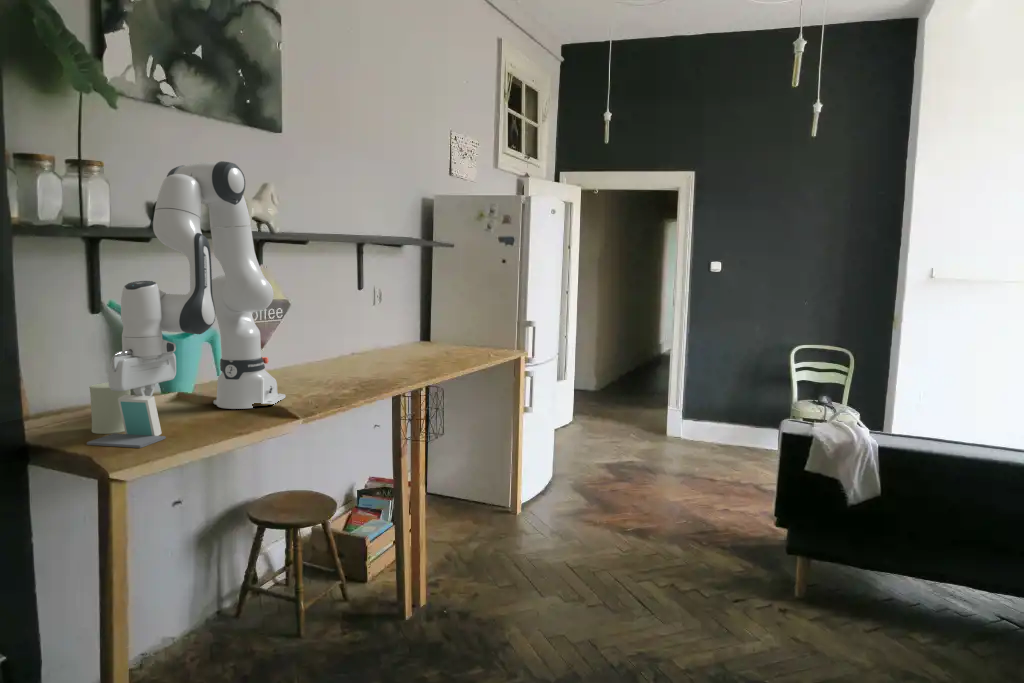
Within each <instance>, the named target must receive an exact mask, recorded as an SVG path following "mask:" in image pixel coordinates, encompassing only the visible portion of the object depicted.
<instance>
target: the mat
mask: <svg viewBox="0 0 1024 683" xmlns="http://www.w3.org/2000/svg"><path fill="white" fill-rule="evenodd" d="M163 440H166V436H165V435H159V436H151V435H133V434H125V433H113V434H108V435H105V436H102V437H99V438H96V439H92V440H89V441H87V442H86V445H87V446H104V447H115V448H116V447H118V448H119V447H121V448H134V449H135V448H136V449H141V448H144V447H147V446H151V445H153V444H155V443H158V442H161V441H163Z"/></svg>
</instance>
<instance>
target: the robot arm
mask: <svg viewBox="0 0 1024 683" xmlns="http://www.w3.org/2000/svg"><path fill="white" fill-rule="evenodd" d="M245 190H246V179H245V174H244V173H243V171H242V169H241V168H240V167H239V165H237V164H236V163H233V162H230V161H221V160H220V161H217V162H216V161H201V162H199V163H193V164H189V165H188V164H187V165H184V164H183V165H179V166H176V167H174V168H172V169H170V171H169V172H168V173H167V175H166V177H165V178H164V179H163V181H162V184H161V186H160V190H159V192H158V195H157V198H156V202H155V207H154V212H153V219H152V230H153V233H154V235H155V237H156V238H157V239H158V241H159V242H161V244H163V245H164V246H165V247H168V248H169V249H171V250H174V251H176V252H178V253H181V254H182V255H184V256H185V257H187V259H188V263H189V288H190V289H189V292H188V293H186V294H181V293H180V294H178V293H176V294H173V293H166V292H164V291H162V290H161V289H159V285H158V283H157V282H156V281H153V280H138V281H132V282H128V283H126V284H125V285H124V286H123V288H122V290H121V297H120V318H121V319H120V320H121V322H122V328H123V329H122V333H121V346H122V348H121V350H122V351H121V350H120V351H116V352H115V354H114V355H113V356H112V357H111V362H110V364H109V370H108V383H109V387H110V389H111V390H112V391H126V390H130V391H131V390H132V391H133V392H134V395H141V396H153V394H154V391H155V388H156V386H155V385H156V384H158V383H159V384H160V383H164V382H168V381H172V380H175V377H176V375H177V356H176V354H175V352H176V350H177V345H176V343H175V342H171V341H169V340H166V339H163V332H169V333H185V334H193V335H202V334H204V333H206V331H208V330H209V329H210V328H212V326H213V325H214V323H215V321H217V324H218V327H219V333H220V348H221V350H220V352H221V353H220V354H221V358H220V360H219V367H220V369H219V370H220V372H221V373H220V375H219V376H218V377H217V387H216V388H217V389H216V399H213V404H214V405H216V407H218V408H221V409H229V410H230V409H231V410H236V409H237V410H238V409H239V410H240V409H241V410H242V409H243V410H244V409H245V410H246V409H254V408H253V406H252V404H254V403H261V404H274V405H276V404H278V403H279V402H280V400H281V401H282V400H284V399H285V398H286V394H285V393H278V383H277V380H276V378H274V377H273V376H272V375H271V374H270V373H269V372H268V371H267V370H266V366H265V364H266V365H267V364H268V363H269V357H268V356H265V357H264V356H262V345H261V344H262V342H261V340H262V339H261V331H260V329H259V327H258V325H256V322H255V320H254V317H253V313H257V312H260V311H263V310H266V309H267V308H268V307H269V306H270V305H271V304H272V302H273V301H274V296H275V295H274V294H275V293H274V288H273V286H272V285H271V283H270V282H269V281H268V279H267V278H266V277H265V275H264V273H263V271H262V269H261V266H260V264H259V261H258V259H257V255H256V251H255V245H254V238H253V231H252V225H251V224H252V223H251V218H250V213H249V208H248V206H247V202H246V199H245V195H244V193H245ZM202 205H207V206H208V209H209V213H208V214H209V217H208V218H209V226H210V234H211V240H212V250H213V255H214V257H215V258H216V260H217V261H218V262H219V264H220V265H221V268H222V271H223V273H224V274H222V275H219V276H216V277H215V278H213V274H212V272H213V271H212V270H213V269H212V255H211V253H212V252H211V246H210V242H209V240H208V238H207V237H206V236H205V235H203V233H202V229H201V218H202V207H203V206H202ZM278 401H279V402H278ZM277 402H278V403H277ZM275 403H276V404H275Z"/></svg>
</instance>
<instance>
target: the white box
mask: <svg viewBox="0 0 1024 683" xmlns="http://www.w3.org/2000/svg"><path fill="white" fill-rule="evenodd" d="M118 402H119V407H120V411H121V416H122V420H123V425H124V429H125V432H124V434H133V435H151V436H161V435H162V428H161V424H160V419H159V414H158V409H157V405H156V404H157V403H156V398H155V396H154V395H152V396H141V395H136V394H131V395H123V396H122V397H120V398H118Z"/></svg>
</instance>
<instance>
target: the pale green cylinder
mask: <svg viewBox="0 0 1024 683" xmlns="http://www.w3.org/2000/svg"><path fill="white" fill-rule="evenodd" d="M89 392H90V393H89V394H90V410H91V411H90V413H91V433H92V434H97V435H107V434H108V435H111V434H114V433H117V434H121V433H125V429H124V425H123V420H122V416H121V411H120V407H119V402H118V398H120V397H122V396H123V395H132V394H131V389H130V390H126V391H112V390H111V389H110V387H109V382H103V383H96V384H91V385H89Z"/></svg>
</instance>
